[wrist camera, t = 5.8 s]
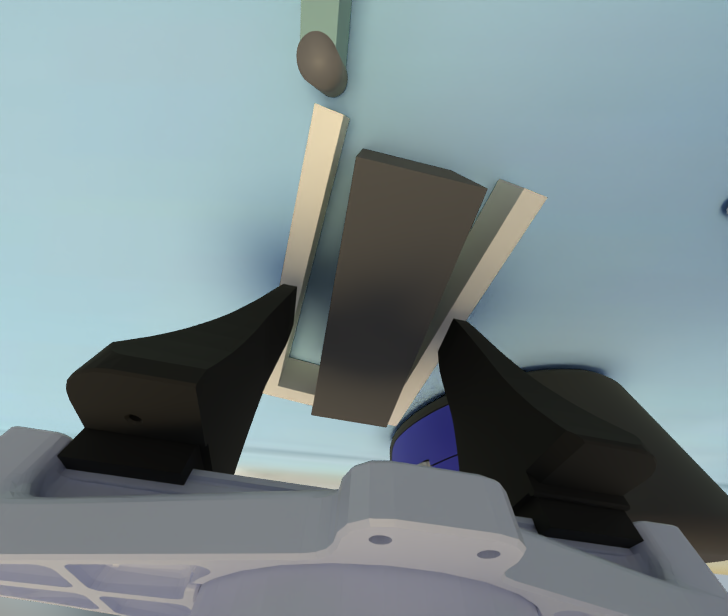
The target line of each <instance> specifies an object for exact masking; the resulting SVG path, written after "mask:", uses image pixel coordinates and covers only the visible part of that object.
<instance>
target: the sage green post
mask: <svg viewBox="0 0 728 616" xmlns="http://www.w3.org/2000/svg"><path fill="white" fill-rule="evenodd" d="M351 5H352V0H301V33H300V42H299V45H298V48H297V64H298V68H299V71H300V73H301V75H302V76H303V78H304V79H305V80H306V81H307V82H308V83H310V84H311V85H312V86H314V87H315V88H316V89H318V90H319V91H321V92H322V93H323V94H325V95H326V96H328V97H337V96H339V95H341V94H342V93H343V91H344V90H345V88H346V85H347V80H348V76H347V71H346V62H347V50H348V39H349V28H350V17H351Z"/></svg>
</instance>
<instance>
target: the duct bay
mask: <svg viewBox="0 0 728 616" xmlns="http://www.w3.org/2000/svg"><path fill="white" fill-rule="evenodd" d="M349 120H350V118H348V117H347V116H345V115H343V114H340V113H338V112H335V111H333V110H330V109H328V108H325V107H323V106H320V105H318V104H315V105H314V110H313V115H312V120H311V125H310V131H309V136H308V141H307V146H306V151H305V156H304V162H303V167H302V172H301V177H300V182H299V187H298V193H297V198H296V203H295V208H294V213H293V219H292V224H291V229H290V234H289V239H288V244H287V250H286V255H285V260H284V265H283V270H282V275H281V281H280V285H282V284H287V285H292V286H297V295H296V305H295V316H294V325H293V328H292V331H291V334H290V336H289V339H288V342H287V344H286V346H285V348H284V350H283V352H282V354H281V356H280V358H279V360H278V362H277V364H276V366H275V368H274V370H273V372H272V374H271V376H270V378H269V380H268V382H267V384H266V386H265V389H264V391H263V394H267V395H271V396H275V397H279V398H284V399H288V400H292V401H296V402H300V403H304V404H308V405H312V406H313V402H314V396H315V390H316V384H317V379H318V373H319V367H320V365H316V364H312V363H309V362H305V361H301V360H297V359H294V358H290V357H289V355H290V351H291V347H292V343H293V339H294V335H295V332H296V328H297V324H298V320H299V316H300V312H301V308H302V304H303V300H304V296H305V292H306V288H307V284H308V281H309V277H310V273H311V269H312V265H313V261H314V257H315V253H316V249H317V245H318V241H319V237H320V234H321V230H322V226H323V222H324V218H325V214H326V210H327V206H328V202H329V198H330V194H331V190H332V186H333V183H334V179H335V175H336V171H337V167H338V163H339V159H340V155H341V151H342V147H343V143H344V139H345V136H346V132H347V128H348V124H349ZM547 198H548V197H545V196H543V195H540V194H538V193H535V192H533V191H530V190H528V189H525V188H523V187H520V186H517V185H515V184H512V183H509V182H507V181H504V180H501V179H499V180H498V182H497V184H496V186H495V187H494V189H493V191H492V193H491V195H490V196H489V198H488V200H487V202H486V204H485V205H484V207H483V209H482V211H481V213H480V215H479V216H478V218H477V220H476V222H475V224H474V225H473V227H472V229H471V231H470V233H469V234H468V236H467V239H466V241H465V243H464V246H463V248H462V250H461V253H460V255H459V257H458V260H457V262H456V264H455V267H454V269H453V272H452V274H451V276H450V279H449V281H448V283H447V286H446V288H445V290H444V293H443V295H442V297H441V300H440V302H439V305H438V307H437V309H436V312H435V314H434V316H433V319H432V321H431V323H430V326H429V328H428V330H427V333H426V335H425V338H424V340H423V342H422V345H421V347H420V349H419V352H418V354H417V356H416V359H415V361H414V363H413V366H412V368H411V371H410V373H409V375H408V378H407V380H406V382H405V385H404V387H403V389H402V392H401V394H400V396H399V399H398V401H397V404H396V406H395V408H394V411H393V413H392V415H391V418H390V420H389V422H388V424H389V425H393V426H397V424H398V423H399V421H400V420H401V418H402V417H403V415H404V414H405V412H406V411H407V409H408V408H409V406H410V405H411V403H412V402H413V400H414V398H415V397H416V395H417V394H418V392H419V391H420V389H421V388H422V386H423V385H424V383H425V382H426V380H427V379H428V377H429V376H430V374H431V373H432V371H433V370H434V368H435V367H436V365H437V364H438V362H439V361H438V350H439V348H440V346H441V343H442V341H443V339H444V337H445V335H446V333H447V331H448V329H449V326H450V324H451V322H452V320H453V318H454V319H459V320H464V321H466V320H467V318H468V317H469V315H470V314H471V312H472V311H473V309H474V308H475V306H476V305H477V303H478V302H479V300H480V299H481V297H482V296H483V294H484V293H485V291H486V290H487V288H488V287H489V285H490V284H491V282H492V281H493V279H494V278H495V276H496V275H497V273H498V272H499V270H500V269H501V267H502V266H503V264H504V263H505V261H506V260H507V258H508V256H509V255H510V253H511V252H512V250H513V249H514V247H515V246H516V244H517V243H518V241H519V240H520V238H521V237H522V235H523V234H524V232H525V231H526V229H527V228H528V226H529V225H530V223H531V222H532V220H533V219H534V217H535V216H536V214H537V213H538V211H539V210H540V208H541V207H542V205H543V204H544V202H545V201H546V199H547Z"/></svg>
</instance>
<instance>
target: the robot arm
mask: <svg viewBox="0 0 728 616" xmlns="http://www.w3.org/2000/svg"><path fill="white" fill-rule="evenodd" d="M726 211H727V214H728V207H727V210H726ZM296 295H297V286H292V285H287V284H282V285H280V286H279V287H277V288H276V289H274V290H272V291H271V292H269V293H267V294H266V295H264V296H263V297H261V298H259V299H257V300H256V301H254V302H252V303H250V304H248V305H246V306H244V307H242V308H240V309H238V310H236V311H234V312H232V313H230V314H227V315H225V316H222V317H220V318H217V319H214V320H212V321H209V322H205V323H202V324H199V325H196V326H192V327H189V328H186V329H182V330H178V331H174V332H169V333H165V334H160V335H155V336H150V337H144V338H137V339H131V340H124V341H117V342H112V343H111V344H109V345H108V346H107V347H105V348H104V349H103V350H102V351H100V352H99V353H98V354H97V355H95V356H94V357H93V358H92V359H90V360H89V361H88V362H86V363H85V364H84V365H83V366H81V367H80V368H79V369H78V370H76V371H75V372H74V373H72V375H71V376H70V377H69V378H68V379H67V384H66V391H67V394H68V397H69V400H70V402H71V403H72V405H73V407H74V409H75V411H76V413H77V414H78V416H79V418H80V420H81V422H82V423H83V425H84V427H85V428H84V429H83V430H82V431H81V432H80V433H79V434H78V435H77V436H76V437H75V438H74V439H72V438H71V437H69V436H67V435H65V434H62V433H59V432H54V431H47V430H40V429H34V428H27V427H21V426H15V427H11V428H10V429H9V430H8V431H6V432H5V433H4V434H3V435H1V436H0V597H7V598H14V599H22V600H30V601H35V602H42V603H49V604H54V605H61V606H67V607H73V608H79V609H85V610H91V611H96V612H102V613H108V614H114V615H120V616H728V592H727V591H726V590H725V588H724V587H723V586H722V585H721V583H720V582H719V581H718V579H717V578H716V577H715V575H714V574H713V573H712V571H711V570H710V569H709V567H708V566H707V565H706V563H705V562H704V561H703V560H702V558H701V557H700V556H699V554H698V553H697V552H696V550H695V549H694V548H693V546H692V545H691V544H690V543H689V541H688V540H687V539H686V537H685V536H684V535H683V533H682V532H681V531H680V529H679V528H678V527H676V526H674V525H669V524H662V523H655V522H649V521H637V522H633V523H632V521H631V520H630V518H629V517H628V515H627V514H626V512H625V511H628V510H630V505H629V503H628V502H627V500H626V499H625V497H624V496H623V495H625V494H626V493H628V492H629V491H631V490H632V489H634V488H635V487H637V486H638V485H640V484H641V483H643V482H644V481H646V480H647V479H648V478H649V477H651V476H652V474H653V473H654V471H655V470H656V465H657V460H656V459H655V457H654V455H653V454H652V453H651V452H650V451H649V449H648V448H647V447H646V446H645V445H644V444H643V442H642V441H641V440H640V439H639V438H638V437H637V436H636V435H634V434H632V433H630V432H628V431H626V430H623V429H621V428H619V427H617V426H615V425H613V424H611V423H609V422H607V421H605V420H603V419H601V418H599V417H597V416H595V415H593V414H591V413H589V412H587V411H586V410H584V409H582V408H580V407H578V406H577V405H575V404H573V403H571V402H570V401H568V400H566V399H565V398H563V397H561V396H560V395H558V394H557V393H555V392H553V391H552V390H550V389H549V388H547V387H546V386H544V385H543V384H541V383H540V382H538V381H537V380H536V379H534V378H533V377H531V376H530V375H529V374H527V373H526V372H525V371H523V370H522V369H521V368H519V367H518V366H517V365H516V364H515V363H513V362H512V361H511V360H510V359H508V358H507V357H506V356H505V355H504V354H503V353H502V352H500V351H499V350H498V349H497V348H496V347H495V346H494V345H493V344H492V343H491V342H489V341H488V340H487V339H486V338H485V337H484V336H483V335H482V334H481V333H480V332H479V331H478V330H476V329H475V328H474V327H473V326H472V325H471V324H469V323H468V322H467V321H464V320H459V319H454V318H453V320H452V322H451V324H450V326H449V329H448V331H447V333H446V335H445V337H444V339H443V341H442V343H441V346H440V348H439V350H438V361H439V369H440V374H441V378H442V382H443V386H444V389H445V393H446V397H447V400H448V404H449V408H450V412H451V416H452V420H453V426H454V432H455V439H456V446H457V454H458V463H459V471H454V470H447V469H441V468H435V467H428V466H422V465H415V464H409V463H403V462H396V461H375V460H371V461H368V462H365V463H362V464H359V465H355V466H354V467H353V468H351V469H350V470H349V472H348V473H347V474H346V475H345V476H344V477H343V478H342V481H341V484H340V487H339V489H335V490H334V489H327V488H320V487H314V486H307V485H300V484H293V483H286V482H280V481H273V480H266V479H259V478H252V477H245V476H239V475H234V473H235V470H236V467H237V464H238V461H239V458H240V455H241V452H242V449H243V446H244V443H245V440H246V437H247V434H248V432H249V429H250V426H251V423H252V421H253V418H254V415H255V412H256V409H257V407H258V404H259V401H260V399H261V396H262V394H263V391H264V389H265V386H266V384H267V382H268V380H269V378H270V376H271V374H272V372H273V370H274V368H275V366H276V364H277V362H278V360H279V358H280V356H281V354H282V352H283V350H284V348H285V346H286V344H287V342H288V339H289V336H290V334H291V331H292V328H293V325H294V316H295V305H296Z"/></svg>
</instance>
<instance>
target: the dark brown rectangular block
mask: <svg viewBox="0 0 728 616" xmlns="http://www.w3.org/2000/svg"><path fill="white" fill-rule="evenodd" d="M486 191H487V188H485V187H483V186H481V185H479V184H477V183H475V182H473V181H471V180H469V179H467V178H465V177H463V176H461V175H459V174H457V173H455V172H453V171H451V170H447V169H443V168H439V167H435V166H431V165H427V164H423V163H419V162H415V161H411V160H407V159H403V158H399V157H395V156H391V155H387V154H383V153H379V152H375V151H371V150H367V149H362V150H361V151H360V153H359V154H358V155H357V156H356V161H355V167H354V172H353V178H352V184H351V189H350V195H349V201H348V207H347V212H346V218H345V224H344V230H343V235H342V241H341V247H340V253H339V258H338V264H337V270H336V276H335V281H334V287H333V293H332V298H331V304H330V310H329V316H328V321H327V327H326V333H325V339H324V344H323V350H322V356H321V362H320V367H319V373H318V379H317V384H316V390H315V396H314V402H313V407H312V413H311V415H314V416H320V417H326V418H332V419H339V420H345V421H351V422H357V423H363V424H369V425H375V426H381V427H387V425H388V422H389V420H390V418H391V415H392V413H393V411H394V408H395V406H396V404H397V401H398V399H399V396H400V394H401V392H402V389H403V387H404V385H405V382H406V380H407V378H408V375H409V373H410V371H411V368H412V366H413V363H414V361H415V359H416V356H417V354H418V352H419V349H420V347H421V345H422V342H423V340H424V338H425V335H426V333H427V330H428V328H429V326H430V323H431V321H432V319H433V316H434V314H435V312H436V309H437V307H438V305H439V302H440V300H441V297H442V295H443V293H444V290H445V288H446V286H447V283H448V281H449V279H450V276H451V274H452V272H453V269H454V267H455V264H456V262H457V260H458V257H459V255H460V253H461V250H462V248H463V246H464V243H465V241H466V239H467V236H468V234H469V231H470V229H471V227H472V224H473V222H474V220H475V217H476V215H477V213H478V210H479V208H480V206H481V203H482V201H483V198H484V196H485V194H486Z"/></svg>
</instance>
